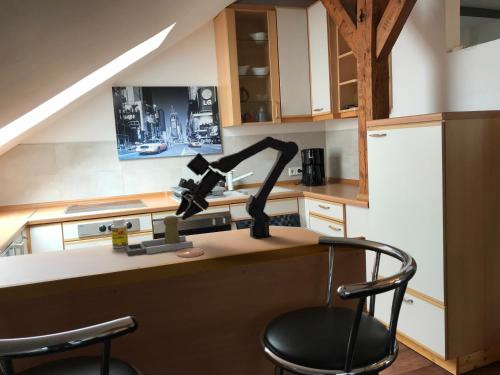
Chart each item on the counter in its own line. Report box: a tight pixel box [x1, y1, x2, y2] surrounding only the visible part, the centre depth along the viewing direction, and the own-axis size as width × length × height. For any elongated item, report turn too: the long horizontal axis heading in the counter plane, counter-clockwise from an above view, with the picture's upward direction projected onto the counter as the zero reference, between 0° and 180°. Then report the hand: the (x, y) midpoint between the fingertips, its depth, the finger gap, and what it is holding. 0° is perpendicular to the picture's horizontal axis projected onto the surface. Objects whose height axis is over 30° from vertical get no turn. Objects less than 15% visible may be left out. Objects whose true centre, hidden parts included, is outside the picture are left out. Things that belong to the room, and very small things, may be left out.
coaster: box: [176, 247, 205, 258], centre depth 139 cm, size 9×9×1 cm
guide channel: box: [141, 234, 194, 255], centre depth 149 cm, size 16×11×2 cm
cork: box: [163, 215, 181, 245], centre depth 149 cm, size 6×6×11 cm
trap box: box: [124, 242, 147, 257], centre depth 144 cm, size 6×9×2 cm, turn 23°
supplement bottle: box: [110, 217, 129, 249], centre depth 151 cm, size 6×6×10 cm
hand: (179, 217), depth 149 cm, fingers open, 9 cm apart
